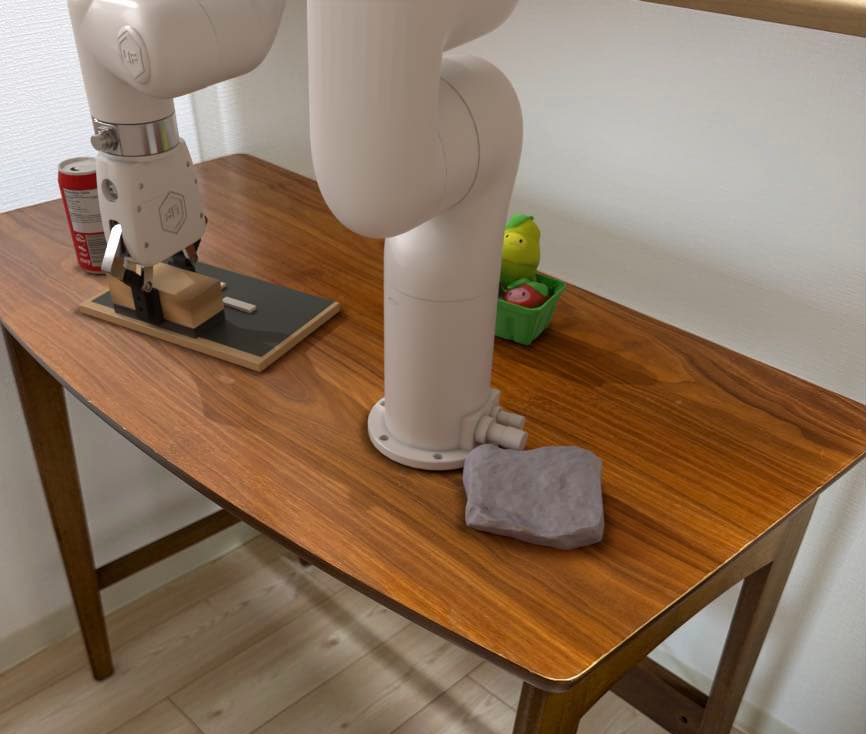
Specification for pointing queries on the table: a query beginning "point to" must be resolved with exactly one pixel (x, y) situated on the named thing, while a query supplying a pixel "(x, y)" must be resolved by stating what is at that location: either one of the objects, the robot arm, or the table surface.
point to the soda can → (83, 211)
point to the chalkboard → (238, 319)
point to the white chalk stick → (238, 305)
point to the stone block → (536, 494)
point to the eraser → (176, 299)
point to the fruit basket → (524, 284)
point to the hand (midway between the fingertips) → (168, 308)
